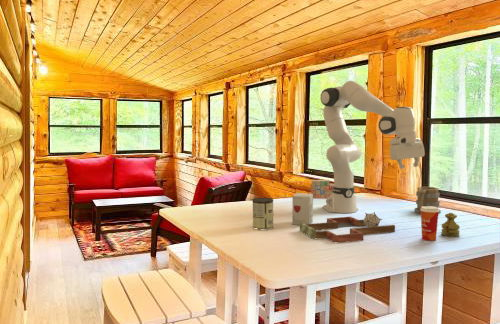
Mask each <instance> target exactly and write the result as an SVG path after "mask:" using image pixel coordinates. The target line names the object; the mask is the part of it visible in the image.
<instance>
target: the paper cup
mask: <svg viewBox="0 0 500 324" xmlns="http://www.w3.org/2000/svg"><path fill="white" fill-rule="evenodd" d="M438 209H439V207H438V208H437V207H433V206H425V207H424V206H422V207H421V209H420V210H421V213H420V223H421V239H422V240H424V241H429V242H435V241H436V240H437V232H438V223H439V221H438V220H439V214H438V212H439V210H440V209H439V210H438Z"/></svg>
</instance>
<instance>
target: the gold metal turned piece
mask: <svg viewBox="0 0 500 324" xmlns="http://www.w3.org/2000/svg"><path fill="white" fill-rule="evenodd" d="M444 217H445V218H446V219H447V220H446V221H445V222H443V223H442V224H441V228H442V229H441V230H440V231H441V235H442V236H445V237H449V238H450V237H451V238H454V237H455V238H456V237H459V236H460V228H461V227H460V225H459V224H458V223H457V222H456V221H455V219H456V218H458V216H457V215H456V214H454V213H453V212H448V213H446V214H444Z"/></svg>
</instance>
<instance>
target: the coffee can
mask: <svg viewBox="0 0 500 324" xmlns="http://www.w3.org/2000/svg"><path fill="white" fill-rule="evenodd" d="M251 201H252V228H253V227H254V228H257V229H270V230H272V228H273V229H274V199H273V198H271V197H257V198H252V200H251ZM254 228H253V229H254Z"/></svg>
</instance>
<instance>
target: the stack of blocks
mask: <svg viewBox="0 0 500 324" xmlns="http://www.w3.org/2000/svg"><path fill="white" fill-rule="evenodd" d="M310 183H311V184H310V188H311V189H310V190H311V193H310V194H313V200H314V199H315V200H316V199H317V200H318V199H323V200H324V199H325V200H327V198H328V197H329V196H330V195H331V194H332V193H333V192H332V191H333V189H332V187H334V183H331V182H330V179H311V182H310Z"/></svg>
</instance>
